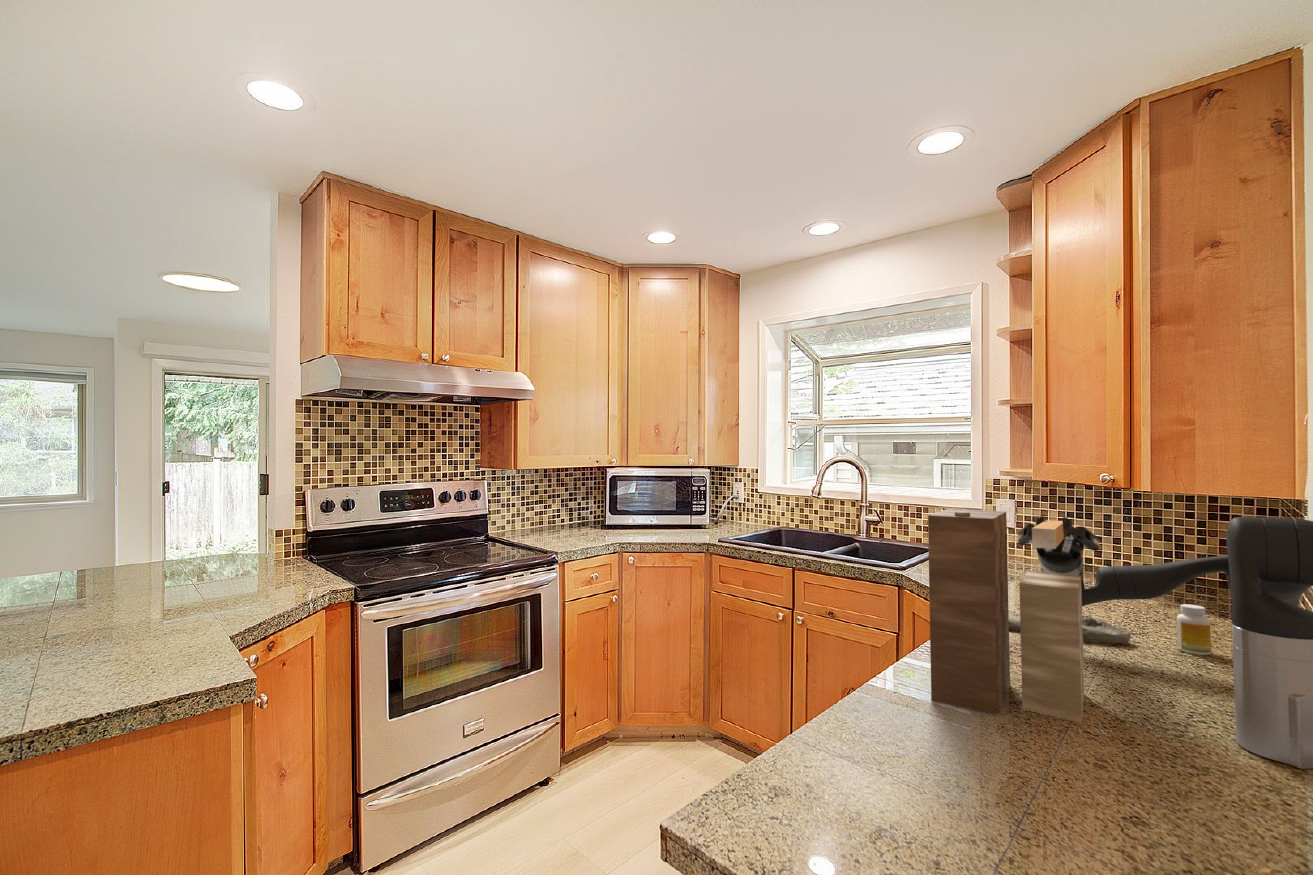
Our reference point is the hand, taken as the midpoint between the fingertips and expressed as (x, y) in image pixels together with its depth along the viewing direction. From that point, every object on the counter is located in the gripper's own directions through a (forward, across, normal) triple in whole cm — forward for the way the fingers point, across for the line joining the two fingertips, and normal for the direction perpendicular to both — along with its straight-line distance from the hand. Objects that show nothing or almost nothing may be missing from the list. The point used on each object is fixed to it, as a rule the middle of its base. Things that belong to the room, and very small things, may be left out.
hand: (1053, 521), depth 109 cm
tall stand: (-4, -12, +33) cm, 35 cm away
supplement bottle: (-51, +22, +6) cm, 56 cm away
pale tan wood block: (+6, 0, +6) cm, 9 cm away
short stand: (-7, 0, +31) cm, 32 cm away
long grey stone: (-49, -6, +8) cm, 50 cm away
